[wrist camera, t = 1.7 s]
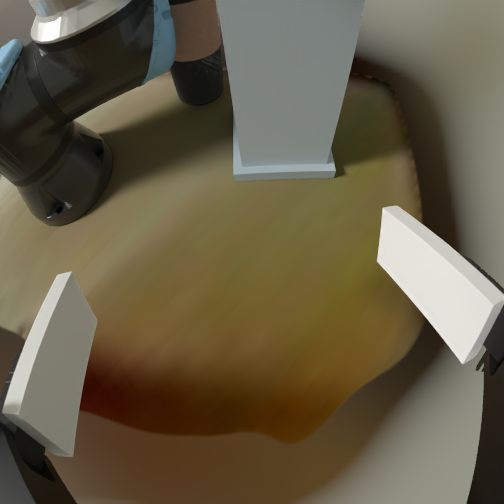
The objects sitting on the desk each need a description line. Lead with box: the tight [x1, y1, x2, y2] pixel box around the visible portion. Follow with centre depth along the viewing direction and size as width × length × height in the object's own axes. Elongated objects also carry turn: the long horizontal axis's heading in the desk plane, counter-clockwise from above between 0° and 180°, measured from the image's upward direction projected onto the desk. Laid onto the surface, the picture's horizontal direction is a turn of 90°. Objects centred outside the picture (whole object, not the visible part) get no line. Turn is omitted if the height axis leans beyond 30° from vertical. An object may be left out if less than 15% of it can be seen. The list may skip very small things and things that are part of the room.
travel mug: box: [168, 0, 223, 105], centre depth 32 cm, size 8×8×20 cm
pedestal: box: [217, 0, 365, 182], centre depth 23 cm, size 12×12×31 cm
